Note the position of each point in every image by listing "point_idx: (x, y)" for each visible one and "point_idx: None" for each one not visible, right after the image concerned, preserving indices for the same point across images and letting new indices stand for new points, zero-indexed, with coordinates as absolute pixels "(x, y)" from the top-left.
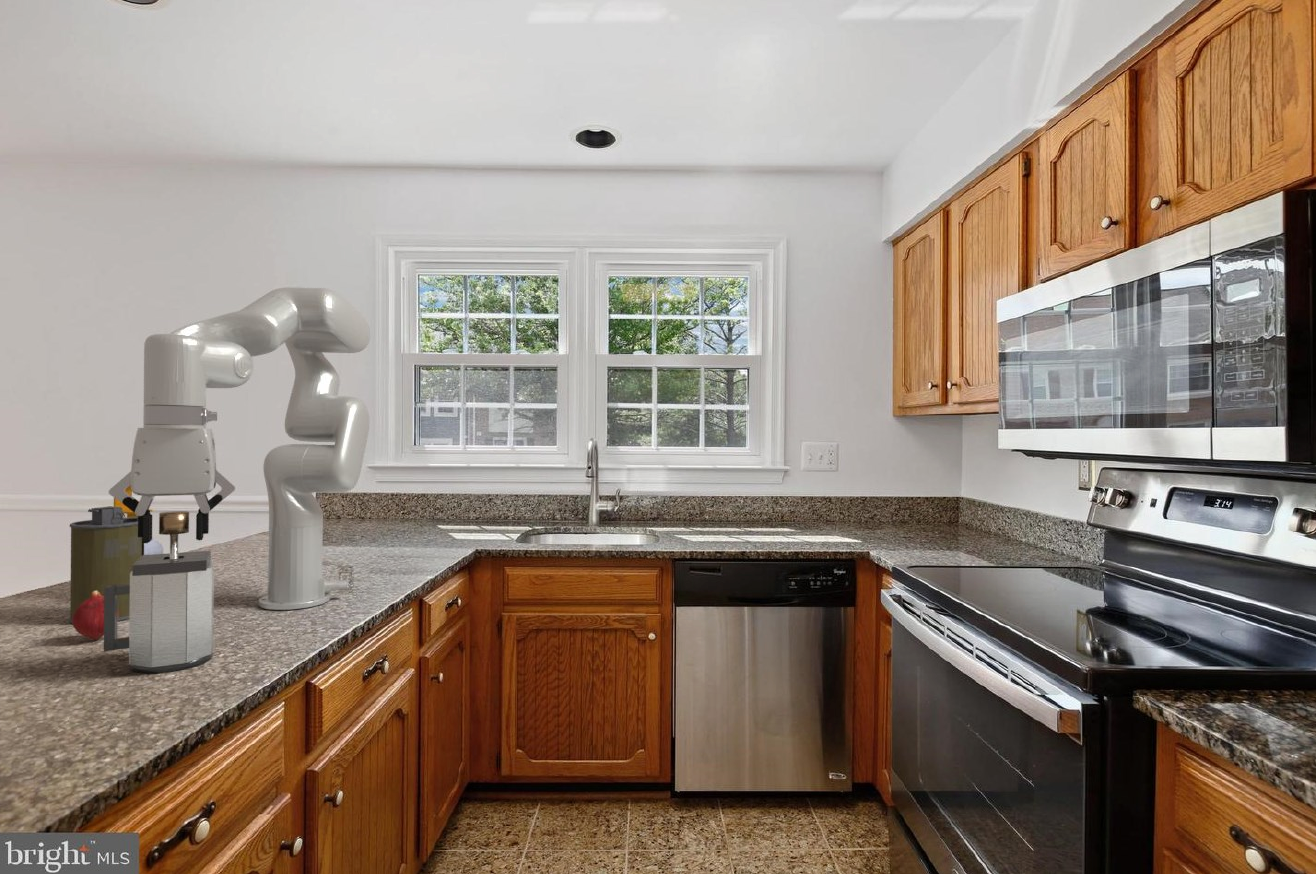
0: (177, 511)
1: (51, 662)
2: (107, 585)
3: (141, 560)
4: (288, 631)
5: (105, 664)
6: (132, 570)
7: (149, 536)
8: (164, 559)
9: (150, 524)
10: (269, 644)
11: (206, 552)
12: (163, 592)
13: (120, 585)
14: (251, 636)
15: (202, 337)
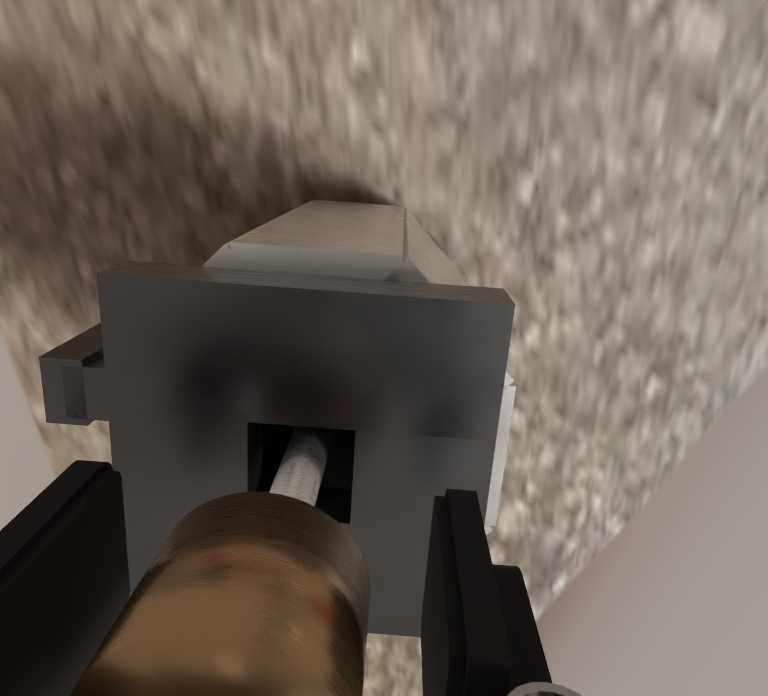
0: (227, 663)
1: (11, 105)
2: (41, 363)
3: (136, 484)
4: (727, 120)
5: (175, 224)
6: None
7: (109, 617)
8: (250, 442)
9: (53, 652)
10: (629, 266)
11: (483, 369)
12: None
13: (100, 394)
14: (596, 120)
15: None
